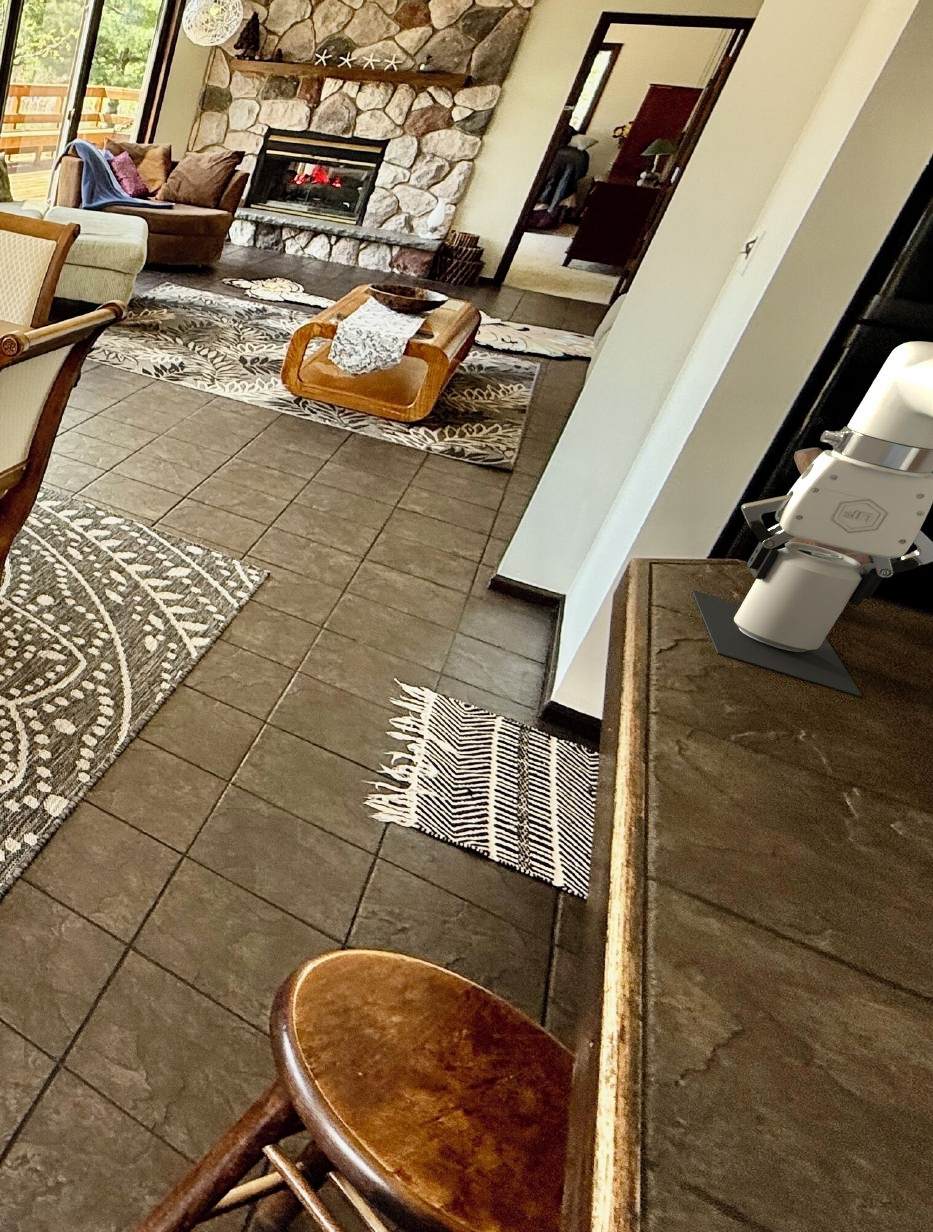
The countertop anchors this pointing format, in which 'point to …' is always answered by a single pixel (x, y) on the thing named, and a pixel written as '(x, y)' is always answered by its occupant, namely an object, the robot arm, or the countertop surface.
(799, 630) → the can
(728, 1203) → the countertop surface
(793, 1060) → the countertop surface
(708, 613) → the mat
